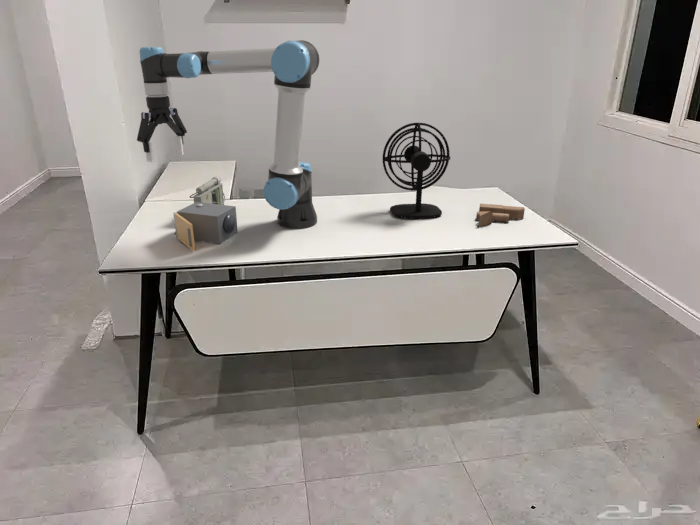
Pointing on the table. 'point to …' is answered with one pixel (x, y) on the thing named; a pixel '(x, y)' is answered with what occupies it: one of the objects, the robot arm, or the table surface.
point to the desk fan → (419, 163)
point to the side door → (184, 231)
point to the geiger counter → (210, 192)
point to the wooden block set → (498, 213)
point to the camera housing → (211, 221)
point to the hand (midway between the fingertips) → (165, 157)
